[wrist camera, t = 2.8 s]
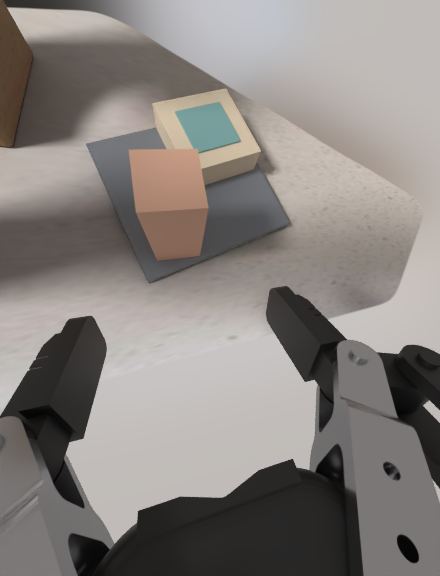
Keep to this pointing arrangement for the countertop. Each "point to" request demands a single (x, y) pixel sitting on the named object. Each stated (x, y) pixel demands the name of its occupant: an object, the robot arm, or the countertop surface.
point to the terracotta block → (170, 200)
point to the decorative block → (11, 75)
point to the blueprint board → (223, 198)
